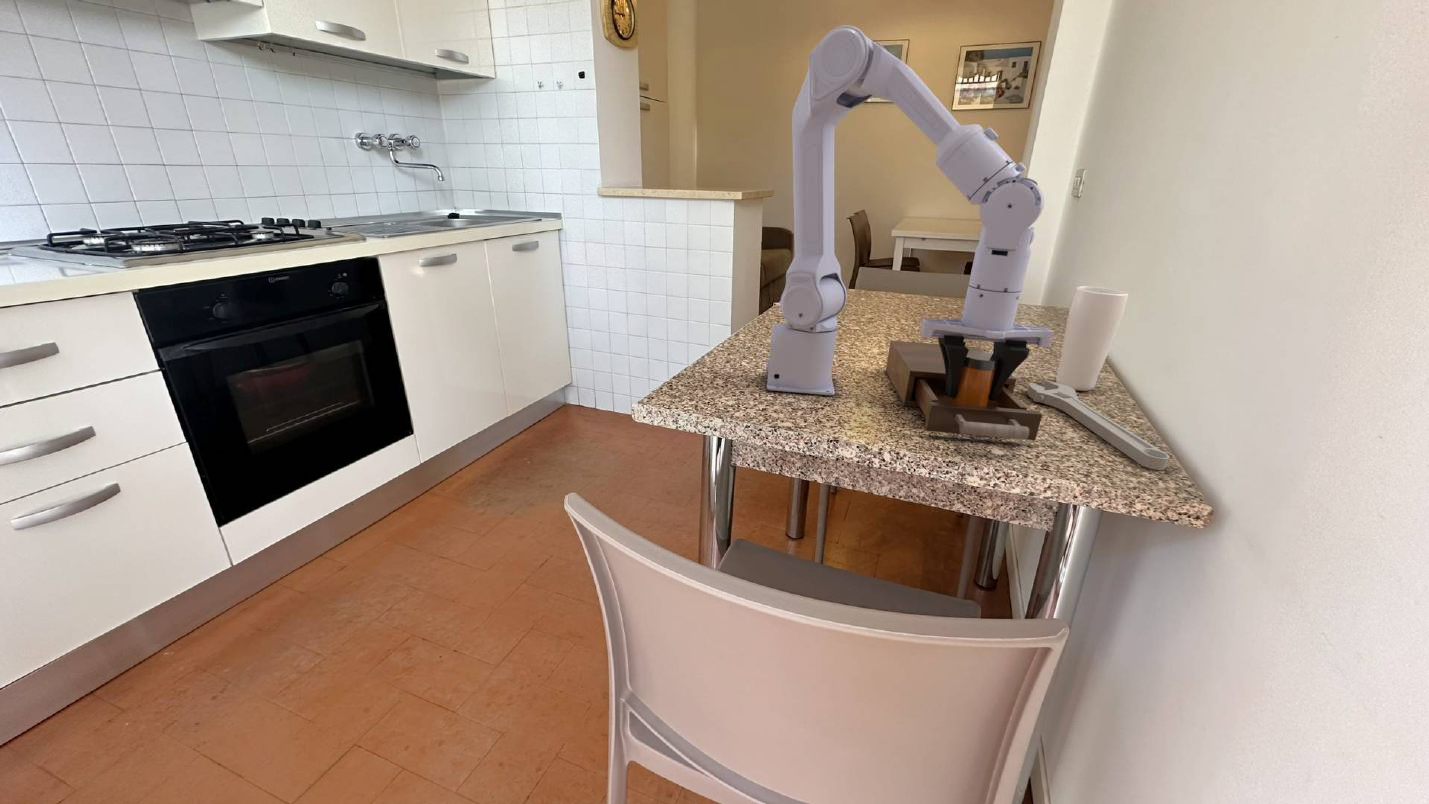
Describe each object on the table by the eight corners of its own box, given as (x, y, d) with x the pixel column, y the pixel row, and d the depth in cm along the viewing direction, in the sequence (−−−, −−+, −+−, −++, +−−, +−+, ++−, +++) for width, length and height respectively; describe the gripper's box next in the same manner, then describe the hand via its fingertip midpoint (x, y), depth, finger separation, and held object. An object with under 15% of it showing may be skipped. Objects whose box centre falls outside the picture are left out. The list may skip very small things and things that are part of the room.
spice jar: (954, 413, 70) (965, 359, 68) (944, 400, 75) (955, 348, 72) (991, 416, 70) (1005, 362, 67) (980, 403, 74) (992, 351, 72)
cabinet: (1007, 415, 76) (1016, 379, 74) (903, 406, 78) (910, 370, 76) (972, 377, 91) (979, 346, 89) (885, 370, 92) (890, 340, 90)
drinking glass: (1052, 376, 93) (1077, 284, 88) (1100, 386, 90) (1130, 290, 84) (1046, 386, 88) (1073, 289, 83) (1098, 397, 85) (1129, 296, 79)
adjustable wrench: (1171, 472, 63) (1177, 457, 62) (1111, 468, 63) (1116, 453, 63) (1061, 392, 86) (1064, 381, 85) (1017, 389, 86) (1020, 378, 86)
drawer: (1049, 455, 63) (1057, 428, 62) (934, 445, 64) (939, 418, 63) (993, 397, 80) (999, 374, 79) (903, 389, 81) (907, 367, 80)
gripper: (939, 289, 64) (917, 402, 69) (1075, 298, 62) (1043, 413, 67) (925, 279, 70) (906, 383, 75) (1048, 287, 69) (1020, 393, 74)
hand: (970, 396), depth 72 cm, fingers closed on spice jar, 4 cm apart
